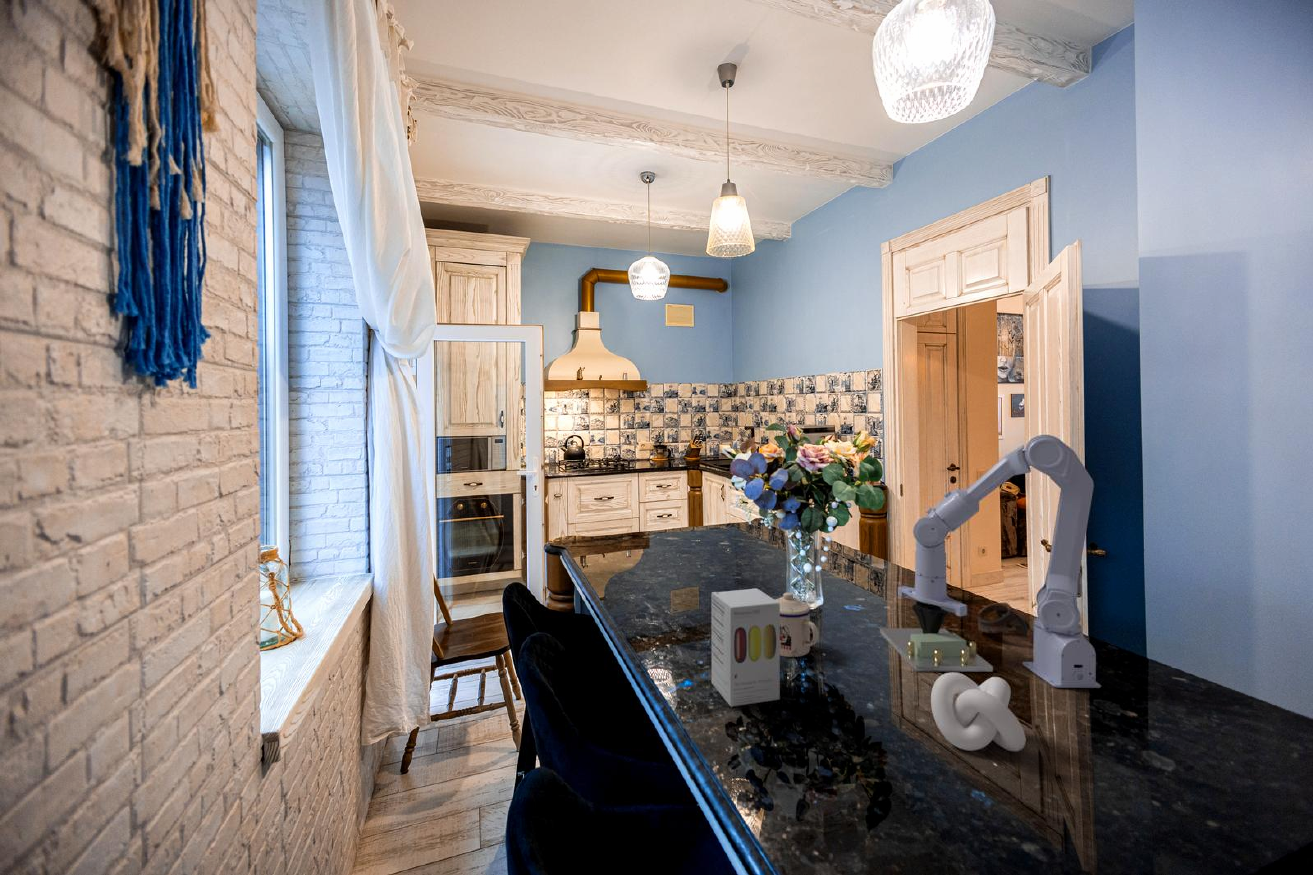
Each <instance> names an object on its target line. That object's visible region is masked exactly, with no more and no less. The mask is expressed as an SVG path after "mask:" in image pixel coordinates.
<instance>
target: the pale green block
mask: <svg viewBox="0 0 1313 875" xmlns="http://www.w3.org/2000/svg"><path fill="white" fill-rule="evenodd" d="M911 641H912V642H915V653H916V654H917V655H918V656H920V657H934V650H935V649H939V650H941V657H947V656H961V650H962V649H966V646H967V641H966V640H965V639H964V638H962V637H961V636H959V635H958V634H956V633H955V632H950V633H934V634H911Z"/></svg>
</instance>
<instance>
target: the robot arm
mask: <svg viewBox="0 0 1313 875" xmlns="http://www.w3.org/2000/svg"><path fill="white" fill-rule="evenodd" d="M1024 449H1025V450H1024ZM1031 467H1032V468H1033V469H1034V470H1035V469H1036V470H1037V471H1039V472H1041V473H1042V474H1044V475H1046V476H1048V477H1049V478H1050V480H1051V481H1053V482H1054V484H1056V486H1057V487H1058V488H1060V492H1059V497H1058V498H1059V499H1058V504H1057V510H1056V516H1055V524H1054V530H1053V536H1052V542H1051V547H1050V555H1049V559H1048V560H1049V561H1048V566H1047V570H1046V574H1045V578H1044V579H1045V580H1044V584H1043V585H1042V586H1041V588H1040V589H1039V590H1038V591H1037V593H1036V596H1035V598H1036V599H1035V600H1036V605H1037V608H1036V614H1037V617H1035V618H1034V619H1033V661H1022V666H1024V667H1026V668H1027V669H1028V670H1029V671H1031V672H1032V673H1033V674H1035V675H1036V676H1038V677H1039V678H1041V679H1042V680H1044V681H1045V682H1046V683H1047V684H1049V685H1050V686H1052V687H1053V688H1060V689H1061V688H1066V689H1067V688H1071V689H1073V688H1074V689H1075V688H1076V689H1077V688H1079V689H1080V688H1081V689H1082V688H1083V689H1084V688H1085V689H1094V688H1096V689H1100V688H1101V687H1102V685H1101V684H1100V683H1098V682H1097V681H1096V678H1097V676H1096V671H1097V670H1096V669H1097V668H1096V667H1097V660H1096V659H1097V657H1096V656H1097V654H1096V653H1097V652H1096V651H1095V648H1094V646H1093V645H1092V644H1091V643H1090V642H1089V641H1088V640H1087V639H1086V638H1085V636H1084V635H1083V627H1082V625H1081V624H1080V622H1081V612H1080V610H1079V608H1078V593H1079V592H1078V591H1079V590H1078V589H1079V586H1078V585H1079V577H1080V570H1081V565H1082V564H1081V563H1082V559H1083V553H1084V547H1085V546H1084V545H1085V540H1086V534H1087V529H1088V522H1089V516H1090V511H1091V505H1092V498H1093V492H1094V488H1095V486H1094V480H1093V478H1092V477H1091V476H1090V473H1089V472H1088V471H1087V469H1086V467H1085V466H1084V465H1083V463H1082V461H1081V460H1080V458H1079V457H1078V455H1077V453H1076V451H1075V450H1073V449H1072V448H1071V447H1070V446H1069V445H1067V444H1066V443H1065V442H1064V441H1062V440H1061V439H1060V438H1059V437H1056V436H1054V435H1051V434H1040V435H1036V436H1035V437H1032V438H1031V439H1030V440H1029V441H1028V443H1027V444H1026V446H1025V444H1023V445H1021V446H1019V447H1017V448H1015V449H1014V450H1013V451H1011V452H1010V453H1008V454H1006V455H1005V456H1003V458H1001V459H1000V460H999V461H998V462H997V463H995V464H994V465H993V466H992V467H991V468H989V469H988V470H987V472H985V473H984V474H983V475H982V476H980V478H978V479H977V480H976V481H975V482H974V483H973V484H971V485H970V486H969V487H968V488H966V489H959V488H958V489H954V490H952V492H951V491H950V490H948V491H947V492H946V493H944V495H943V497H944V499H942V500H941V501H940V502H939V503H937V504H936V506H934V507H933V508H931V507H930V508H928V509H927V510H926V511H925V512H926V515H924V516H922V517H920V518H919V519H918V520H917V522H915V523H914V526H913V531H912V534H913V537H914V539H915V551H914V557H915V558H914V559H915V560H914V564H915V565H914V566H915V567H914V569H915V570H914V571H915V573H914V574H915V575H914V586H915V588H914V587H909V586H906V585H903V586H898V587H897V596H898V597H901V598H907V599H910V600H913V601H915V604H912V606H911V607H912V610H913V612H914V614H915V615H916V617H917V619H918V621H919V624H920V627H921V628H922V631H923V634H934V633H939V630H940V628H942V627H941V626H942V625H943V622H944V620H945V619H946V617H947V615H948V614H949V613H953V614H955V615H956V616H957V617H964V616H968V605H967V604H965V603H962V602H960V601H957V600H955V599H953V598H951V597H950V596H948V594H947V552H946V540H945V539H946V538H947V536H948V534H949V533H951V532H955V531H956V530H958V529H959V528H960V527H961V526H962V525H964V524H965V523H966V522H968V521H969V520H970V519H971V518H973V516H975V515H976V514H977V513H978V512H979V511H980V501H982V500H983V499H984V498H985V497H986V498H987V496H988V495H990V494H991V493H992V492H994V491H995V490H996V489H997V488H999V487H1000V486H1001V485H1002V484H1004V483H1005V482H1007V481H1008V480H1010V478H1012V477H1014V476H1017V475H1018V476H1019V475H1023V474H1029V473H1031V469H1032V468H1031Z"/></svg>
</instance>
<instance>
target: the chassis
mask: <svg viewBox="0 0 1313 875" xmlns="http://www.w3.org/2000/svg"><path fill="white" fill-rule="evenodd" d="M879 633H880V634H881V635H882V637H883V638H884V639H885V640H886V641H887V642H888V643H889V644H890V645H891V646H892V648H894V649H895V651H897V652H898V654H899V655H900V656H901V657H902V658H903V659H904V660H905V661H906V662H907V663H908V665H910V666H911V667H912V669H914V671H915V672H941V673H942V672H945V673H952V672H954V673H960V672H961V673H962V672H965V673H966V672H967V673H968V672H969V673H971V672H972V673H974V672H975V673H977V672H979V673H982V672H983V673H985V672H986V673H988V672H989V673H991V672H992V673H993V671H994V666H993V665H992V664H991V663H989V662H988V661H987V660H985V659H984V658H983V657H982V656H980V655H979V654H977V642H976V641H969V642H968V645H966V649H962V650H961V656H947V657H941V650H939V649H935V650H934V657H920V656H918V655H917V654H916V653H915V642H912V641H911V634H923V631H922V627H921V628H920V627H919V628H917V627H916V628H909V627H908V628H907V627H906V628H905V627H904V628H903V627H902V628H899V627H898V628H892V627H891V628H888V627H886V628H885V627H884V628H882V627H881V628H879ZM939 633H951V632H950V631H948V630H947V629H946V628H942V627H940V630H939Z"/></svg>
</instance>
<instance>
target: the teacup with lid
mask: <svg viewBox="0 0 1313 875" xmlns="http://www.w3.org/2000/svg"><path fill="white" fill-rule="evenodd" d="M782 595H783V596H781V597H778V598H775V599H774V600H776V601H777V602H779V603H780V657H785V658H786V657H787V658H799V657H803V656H805V655H807V654H809V652H810V651H811V647H812V646H815V645H816V644H817V643H818V640H819V636H820V635H819V629H818V627H817V625H816V624H815V623H814V622H812V621H811V618H810V617H811V612H812V609H811V606H810V605H809V604H808V603H806V601H802V600H799V599H798V598H796V597H794V595H793V593H792V592H784V593H783V594H782ZM811 631H812V638H811Z"/></svg>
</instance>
